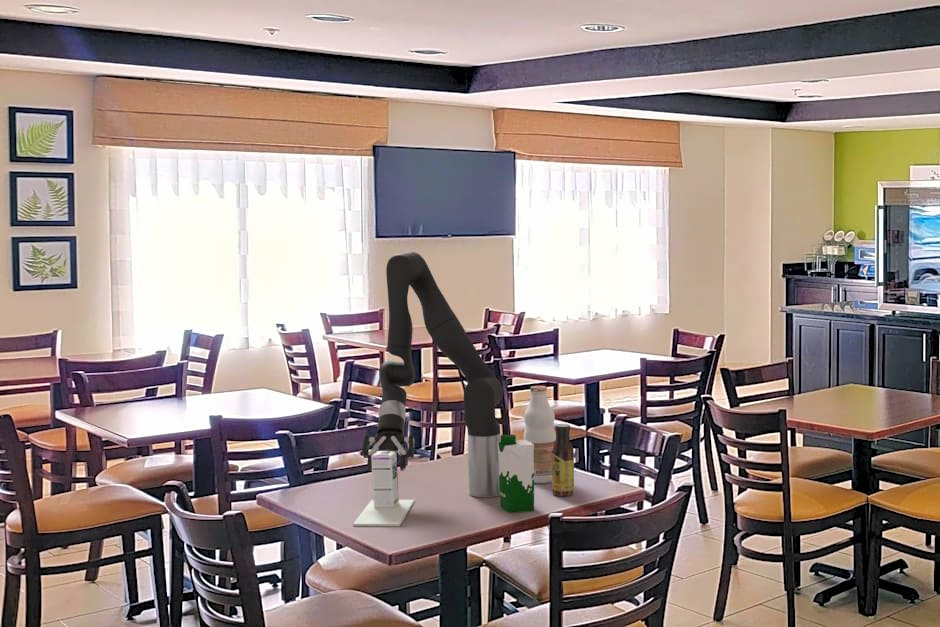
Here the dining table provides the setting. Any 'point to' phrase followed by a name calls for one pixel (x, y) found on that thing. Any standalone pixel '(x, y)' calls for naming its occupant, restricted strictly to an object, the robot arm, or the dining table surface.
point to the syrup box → (385, 479)
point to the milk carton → (516, 474)
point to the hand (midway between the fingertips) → (386, 469)
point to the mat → (384, 514)
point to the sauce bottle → (562, 462)
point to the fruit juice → (540, 433)
